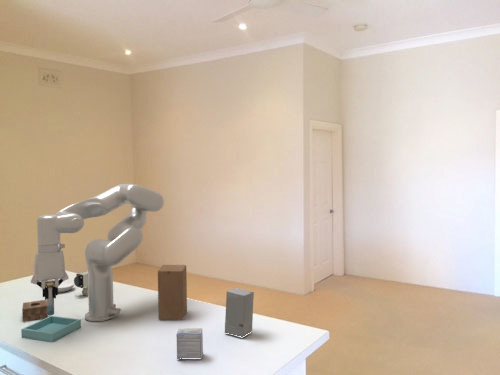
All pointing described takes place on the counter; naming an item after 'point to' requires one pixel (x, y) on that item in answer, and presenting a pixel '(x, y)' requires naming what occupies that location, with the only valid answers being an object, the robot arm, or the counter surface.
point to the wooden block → (172, 292)
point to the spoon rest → (64, 285)
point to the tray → (51, 328)
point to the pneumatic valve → (82, 281)
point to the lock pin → (50, 296)
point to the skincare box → (239, 312)
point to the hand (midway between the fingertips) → (50, 297)
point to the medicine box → (189, 343)
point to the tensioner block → (34, 310)
